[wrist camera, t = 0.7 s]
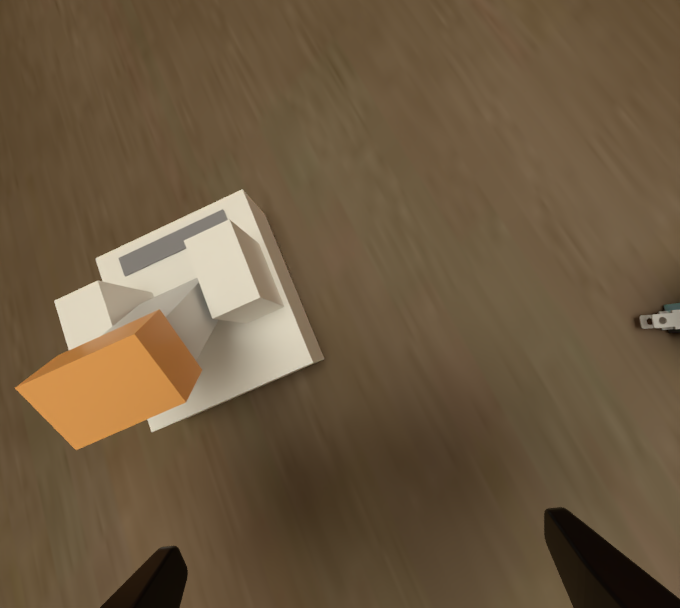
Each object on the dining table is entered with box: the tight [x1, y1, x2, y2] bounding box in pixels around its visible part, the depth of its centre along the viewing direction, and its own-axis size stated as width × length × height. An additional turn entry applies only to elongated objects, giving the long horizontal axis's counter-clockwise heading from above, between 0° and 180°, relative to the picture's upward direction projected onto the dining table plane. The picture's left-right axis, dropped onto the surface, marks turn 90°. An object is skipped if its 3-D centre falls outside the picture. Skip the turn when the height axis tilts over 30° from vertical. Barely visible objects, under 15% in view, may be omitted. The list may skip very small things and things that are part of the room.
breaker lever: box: [15, 278, 218, 450], centre depth 15 cm, size 3×4×9 cm
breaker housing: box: [54, 189, 324, 432], centre depth 20 cm, size 11×10×8 cm
